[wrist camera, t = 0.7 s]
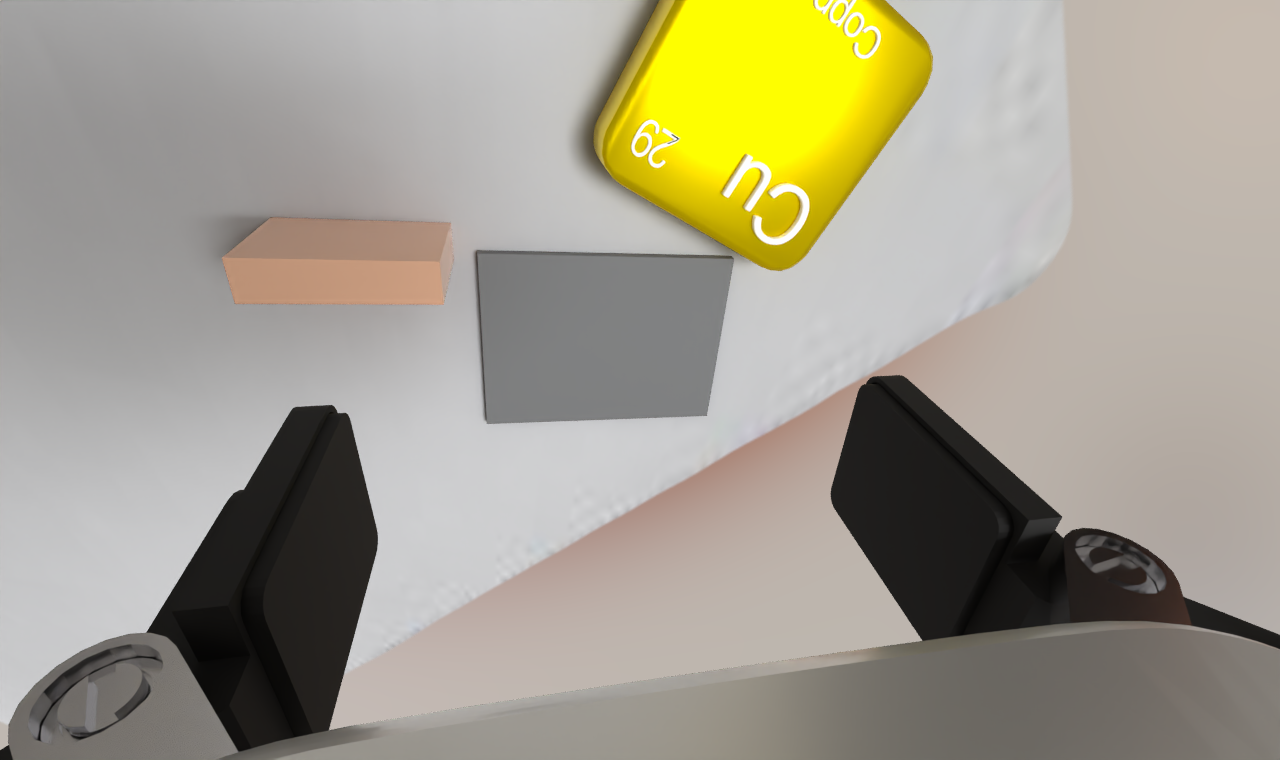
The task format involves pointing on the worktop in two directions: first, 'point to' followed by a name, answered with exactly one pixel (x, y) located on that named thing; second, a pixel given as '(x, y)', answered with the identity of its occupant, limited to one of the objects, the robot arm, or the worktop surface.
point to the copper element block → (760, 114)
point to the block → (342, 262)
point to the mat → (599, 334)
